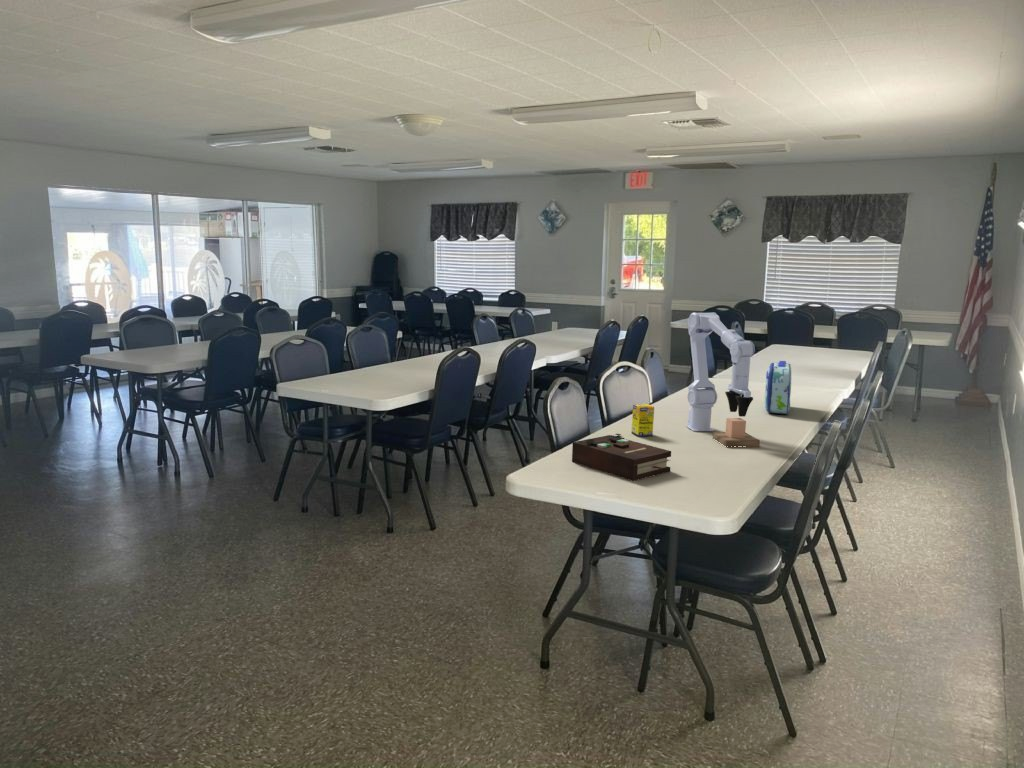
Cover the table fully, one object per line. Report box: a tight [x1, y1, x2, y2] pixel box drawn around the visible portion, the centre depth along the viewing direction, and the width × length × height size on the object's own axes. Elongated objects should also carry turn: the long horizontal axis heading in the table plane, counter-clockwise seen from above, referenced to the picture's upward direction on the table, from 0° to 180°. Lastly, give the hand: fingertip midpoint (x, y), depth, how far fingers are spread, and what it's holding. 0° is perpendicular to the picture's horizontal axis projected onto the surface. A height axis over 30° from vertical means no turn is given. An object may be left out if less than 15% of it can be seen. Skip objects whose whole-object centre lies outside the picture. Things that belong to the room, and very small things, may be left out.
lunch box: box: [764, 360, 792, 415], centre depth 324 cm, size 26×11×21 cm, turn 160°
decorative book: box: [571, 433, 672, 482], centre depth 232 cm, size 19×8×30 cm
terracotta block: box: [725, 417, 747, 438], centre depth 265 cm, size 5×5×6 cm
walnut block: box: [712, 431, 760, 448], centre depth 266 cm, size 12×12×3 cm
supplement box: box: [631, 403, 655, 438], centre depth 274 cm, size 6×6×11 cm
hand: (737, 414), depth 264 cm, fingers open, 7 cm apart
